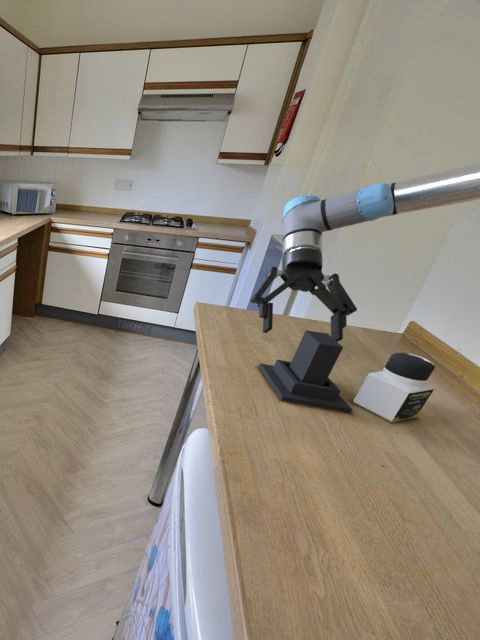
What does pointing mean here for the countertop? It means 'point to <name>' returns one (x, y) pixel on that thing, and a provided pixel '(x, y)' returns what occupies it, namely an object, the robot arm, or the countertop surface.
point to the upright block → (315, 358)
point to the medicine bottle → (397, 387)
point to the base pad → (303, 388)
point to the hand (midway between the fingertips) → (301, 335)
